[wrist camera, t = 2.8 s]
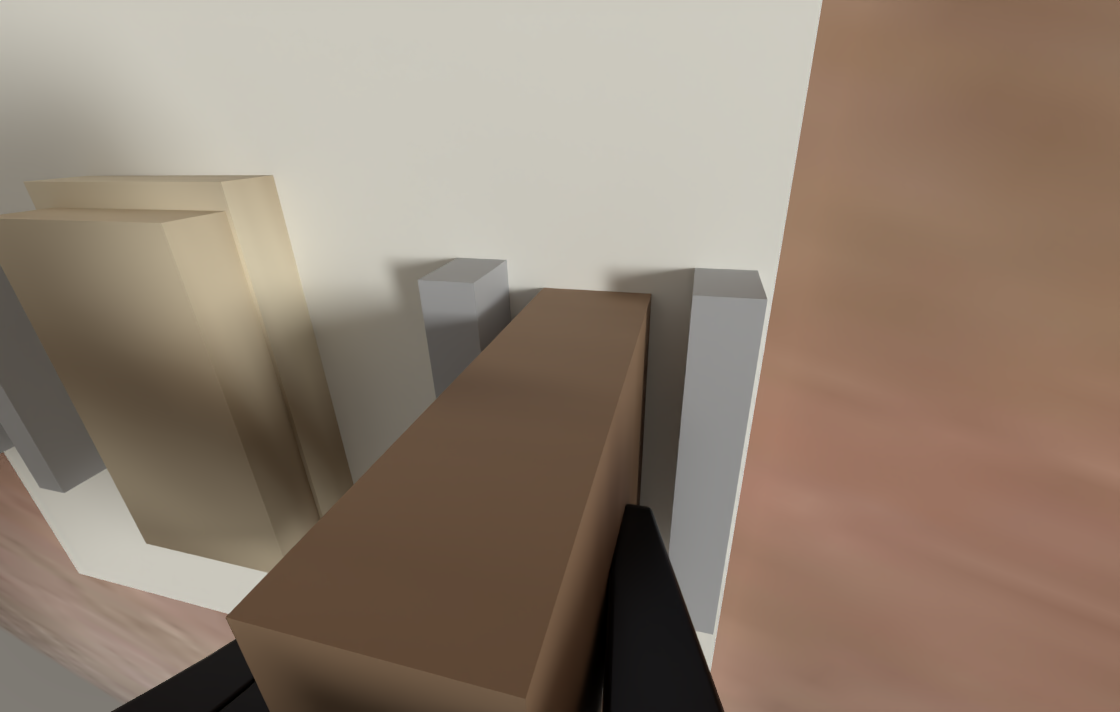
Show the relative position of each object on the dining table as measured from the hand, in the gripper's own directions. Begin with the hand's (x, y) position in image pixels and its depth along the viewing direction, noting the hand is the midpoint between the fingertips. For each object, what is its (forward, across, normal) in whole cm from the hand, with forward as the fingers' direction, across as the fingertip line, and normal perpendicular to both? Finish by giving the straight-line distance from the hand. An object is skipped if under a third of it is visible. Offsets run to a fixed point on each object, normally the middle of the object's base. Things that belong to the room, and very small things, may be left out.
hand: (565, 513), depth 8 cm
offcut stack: (+2, +9, 0) cm, 9 cm away
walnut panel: (+2, 0, 0) cm, 2 cm away
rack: (+4, +9, 0) cm, 10 cm away
